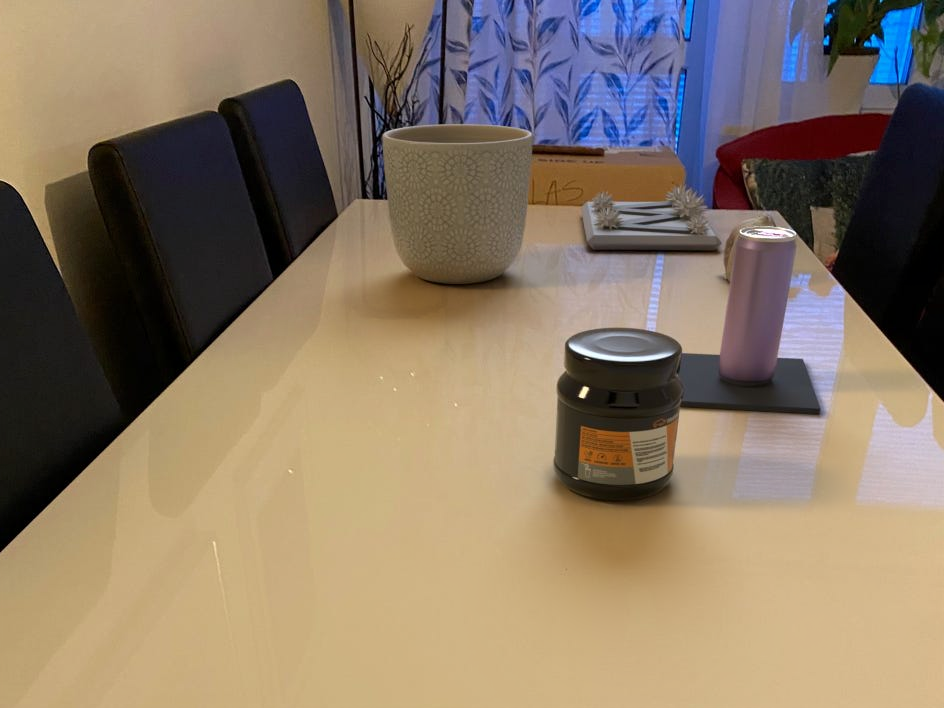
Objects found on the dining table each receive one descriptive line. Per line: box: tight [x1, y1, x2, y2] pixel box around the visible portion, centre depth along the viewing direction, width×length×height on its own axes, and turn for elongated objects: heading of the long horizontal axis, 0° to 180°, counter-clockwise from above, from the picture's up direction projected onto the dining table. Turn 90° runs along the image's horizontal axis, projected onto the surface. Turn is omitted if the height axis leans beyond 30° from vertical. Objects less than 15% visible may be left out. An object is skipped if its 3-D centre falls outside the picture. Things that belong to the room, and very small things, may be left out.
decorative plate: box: [580, 182, 723, 251], centre depth 169 cm, size 30×22×7 cm
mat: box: [677, 352, 821, 415], centre depth 107 cm, size 14×16×1 cm
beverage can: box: [718, 226, 798, 387], centre depth 103 cm, size 6×6×15 cm
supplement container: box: [552, 327, 684, 501], centre depth 84 cm, size 10×10×12 cm
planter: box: [382, 123, 533, 285], centre depth 142 cm, size 21×21×19 cm
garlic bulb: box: [722, 211, 777, 282], centre depth 142 cm, size 9×8×10 cm
